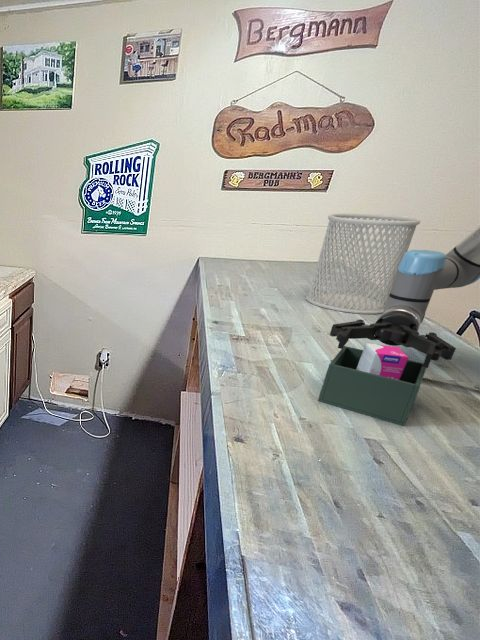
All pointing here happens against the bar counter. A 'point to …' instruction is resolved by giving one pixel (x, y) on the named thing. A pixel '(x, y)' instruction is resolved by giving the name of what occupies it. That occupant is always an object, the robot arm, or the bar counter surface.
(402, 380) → the bin
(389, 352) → the supplement box
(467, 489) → the bar counter surface
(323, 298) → the wastebasket
